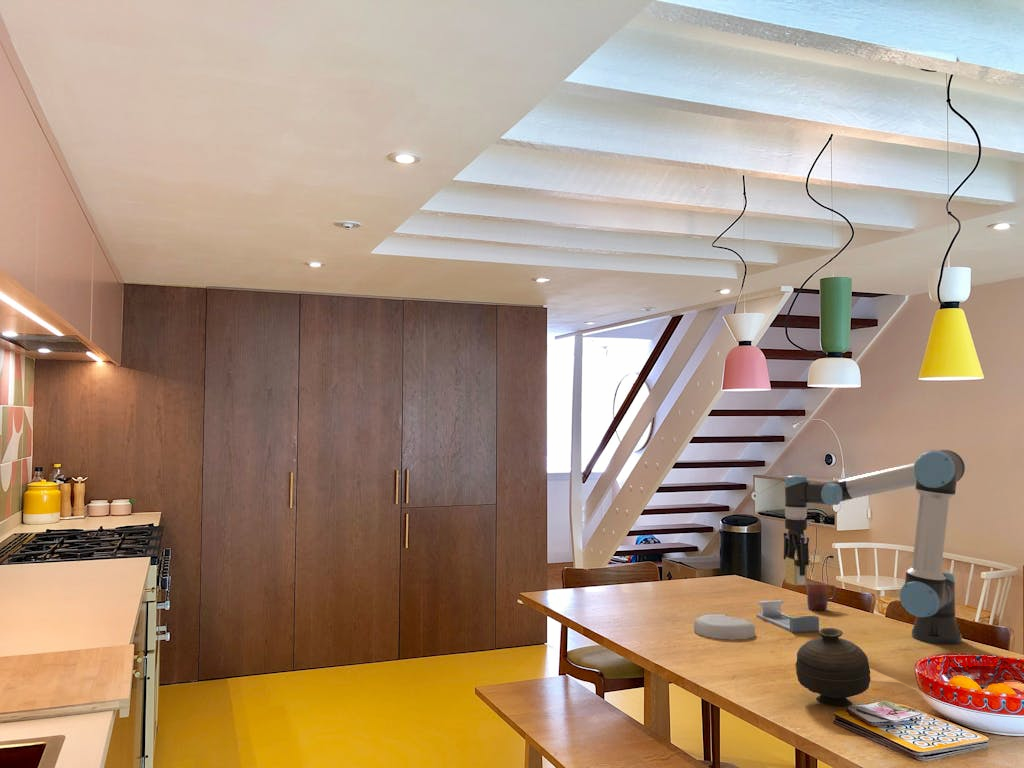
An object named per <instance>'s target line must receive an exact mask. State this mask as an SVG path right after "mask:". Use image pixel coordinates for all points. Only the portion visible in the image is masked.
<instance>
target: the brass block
mask: <svg viewBox="0 0 1024 768" xmlns="http://www.w3.org/2000/svg"><path fill="white" fill-rule="evenodd" d="M797 565H798V559H797V556H795V557H786V560H785V583H787V584H790V585H792V586H798V585H797ZM807 581H808V565H807V566H805V585H804V586H806V585H807Z"/></svg>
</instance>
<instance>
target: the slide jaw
mask: <svg viewBox="0 0 1024 768" xmlns="http://www.w3.org/2000/svg"><path fill="white" fill-rule="evenodd" d="M757 604H758V605H760V614H761V615H763V616H781V613H782V604H784V601H783V600H781V599H777V600H776V599H775V600H758V601H757Z"/></svg>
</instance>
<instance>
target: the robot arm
mask: <svg viewBox="0 0 1024 768" xmlns="http://www.w3.org/2000/svg"><path fill="white" fill-rule="evenodd" d="M965 471H966V467H965V462H964V459H963V458H962V457H961V455H959V453H957V452H955V451H953V450H950V449H949V450H948V449H940V450H939V449H937V450H935V449H933V450H928V451H926V452H924V453H922V454H920V456H919V457H917V458H916V460H915V462H912V463H908V464H904V465H900V466H896V467H891V468H886V469H883V470H878V471H873V472H869V473H865V474H861V475H855V476H852V477H848V478H842V479H837V480H833V481H828V482H827V481H826V482H813V481H812V482H811V481H808V478H807V476H805V475H787V476H785V479H784V480H785V482H784V501H785V504H784V517H785V520H784V528H785V529H787V532H783V560H785V561H786V557H797V559H798V565H797V585H796V586H806V585H805V566H807V567H808V566H809V565H810V556H809V555H810V554H809V542H810V538H809V537H807V536H805V532H804V531H806V530H808V520H807V519H806V518H808V513H807V512H808V508H807V507H808V504H819V505H827V506H837V505H840V504H841V502H845V501H849V500H853V499H858V498H862V497H866V496H871V495H877V494H881V493H886V492H890V491H891V492H892V491H895V490H901V489H906V488H910V487H914V486H915V490H916V492H917V493H918V494H919V499H918V500H919V501H918V507H917V508H918V509H917V520H916V525H915V527H916V528H915V534H914V535H915V536H914V544H913V551H912V552H913V553H912V554H913V555H912V562H911V563H912V564H911V567H909V568H908V569H906V571H905V579H904V584H903V585H902V587H901V588H900V591H899V601H900V604H901V605H902V607H903V608H904V610H905V611H906V612H908V613H909V614H911V615H912V616H914V617H915V620H914V623H913V628H912V630H911V638H913V639H914V640H917V641H919V640H920V641H919V642H923V641H924V643H927V642H929V643H928V644H933V643H934V644H935V645H943V646H945V645H946V646H954V645H955V646H957V645H961V644H962V642H963V636H962V633H961V630H960V626H959V625H958V622H957V619H956V589H955V586H956V581H955V576H954V574H953V573H951V572H946V571H945V572H944V571H943V572H942V565H943V559H944V558H943V556H944V547H945V539H946V532H947V531H946V530H947V523H948V514H949V513H948V512H949V504H950V503H949V502H950V499H951V498H953V497H954V496H955V495H956V491H957V490H956V489H957V483H958V482H959V481H961V479H962V478H963V476H964V474H965ZM795 554H796V555H795Z"/></svg>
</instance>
